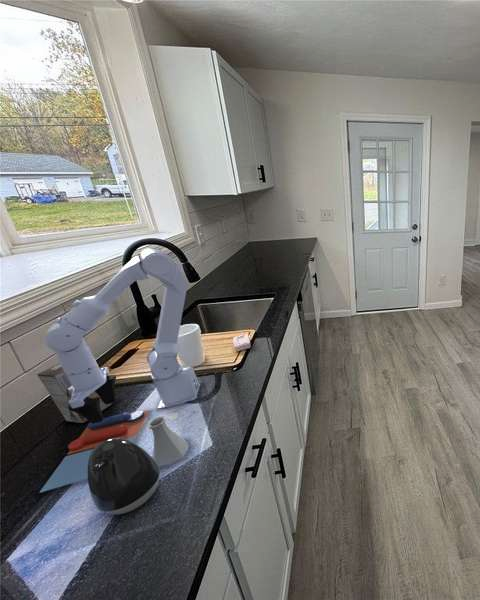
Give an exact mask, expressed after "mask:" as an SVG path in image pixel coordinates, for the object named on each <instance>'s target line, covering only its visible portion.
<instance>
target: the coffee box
mask: <svg viewBox="0 0 480 600" xmlns="http://www.w3.org/2000/svg"><path fill="white" fill-rule="evenodd" d="M36 375H37V377H38V378H39V380H40V381H41V383H42V385H43V386H44V388H45V389H46V391H47V393H48V394H49V396H50V397H51V399H52V401H53V402H54V404H55V405H56V407H57V409H58V410H59V412H60V413H61V415H62V416H63V418H64V420H65V421H66V422H72V423H80V424H82V423H85V422H87V421H88V420H87V419H86V418H85V417H83V416H82V415H80V414H78V413H76V412H73V411H70V410H69V409H68V405H69V404H70V403H69V401H70V400H71V398H72V392H73V391H71V392H69V390H68V389H69V388H70V387H71V386H72V384H71V383H70V381H69V379H68V377H67V376H66V374H65V372H64V370H63V368H62V367H61V365H60V363H59V362H58V363H57V364H55V365H53V366H51V367H49V368H47V369H45V370H42V371H41V372H39V373H37V374H36ZM97 397H99V395H98V394H97V393H96V392H95V391H94V392H92V393H91V394H90V395H89V398H92V399H93V398H97ZM113 404H114V403H111V404H107V405H106V404H105V403H104V402H103V401H102V400H101V398H100V409H101V412H102V411H104V410H105V409H106V408H108V407H110V406H111V405H113Z"/></svg>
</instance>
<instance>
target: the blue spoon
mask: <svg viewBox="0 0 480 600" xmlns="http://www.w3.org/2000/svg"><path fill="white" fill-rule="evenodd" d="M143 412H144V411H143V410H136V411H134V412H131V413H130V412H122V413H118V414H115V415H111V416H107V417H103V421H101V422H98V423H94V424H92V423H91V422H90V421H89V423H88V424H87V426H88V428H89V429H91V430H94V429H98V428H101V427H105V426H109V425H113V424H117V423H120V422H124V421H128V422H135V421H138V420H140V419H141V418H142V417H143V416H144V413H143Z"/></svg>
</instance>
